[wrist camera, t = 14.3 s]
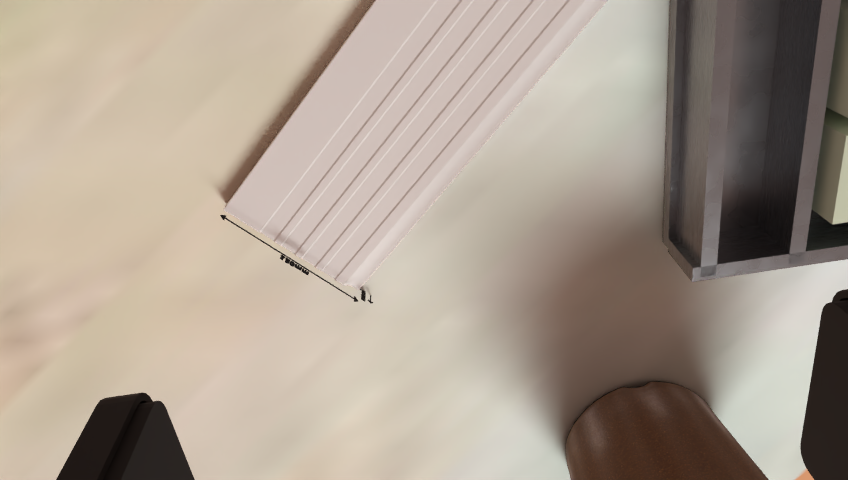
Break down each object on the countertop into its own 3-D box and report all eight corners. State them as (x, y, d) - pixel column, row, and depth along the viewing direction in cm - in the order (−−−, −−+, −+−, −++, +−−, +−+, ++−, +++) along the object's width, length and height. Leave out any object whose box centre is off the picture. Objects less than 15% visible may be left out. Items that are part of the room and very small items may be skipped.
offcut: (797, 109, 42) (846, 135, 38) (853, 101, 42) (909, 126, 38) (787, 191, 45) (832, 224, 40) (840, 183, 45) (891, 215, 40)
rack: (671, -42, 39) (709, -33, 34) (909, -78, 39) (978, -73, 34) (662, 244, 47) (692, 281, 43) (857, 216, 47) (907, 250, 43)
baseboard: (706, -84, 38) (552, -248, 35) (730, -82, 36) (566, -258, 32) (375, 295, 48) (227, 201, 45) (375, 318, 46) (217, 220, 42)
